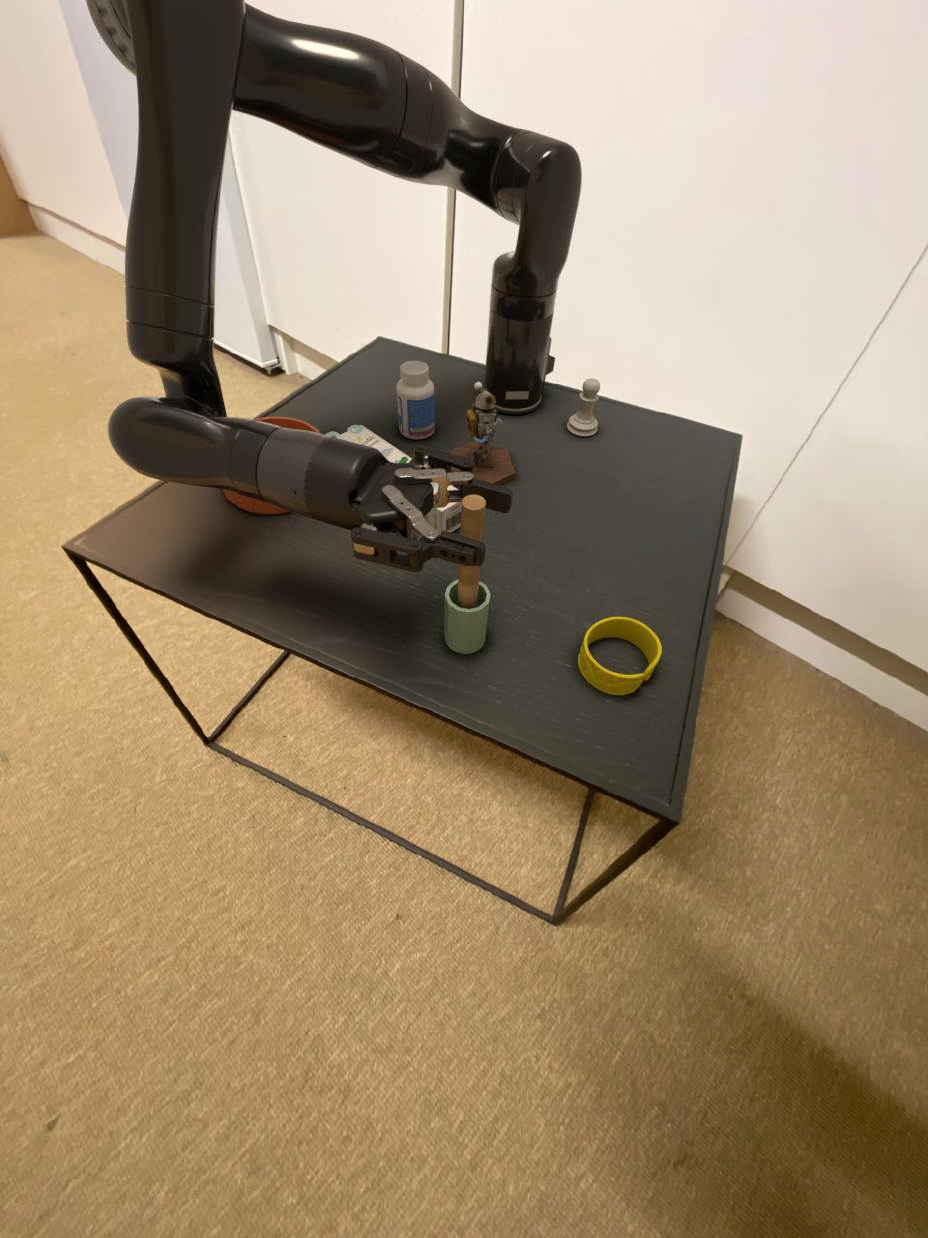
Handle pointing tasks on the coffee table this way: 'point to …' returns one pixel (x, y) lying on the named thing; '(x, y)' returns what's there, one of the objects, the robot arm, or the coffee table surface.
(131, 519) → the coffee table surface
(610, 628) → the bracelet
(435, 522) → the box
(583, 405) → the chess piece
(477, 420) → the robot figurine
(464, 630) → the holder
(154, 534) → the coffee table surface
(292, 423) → the bowl
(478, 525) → the stick
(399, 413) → the pill bottle
